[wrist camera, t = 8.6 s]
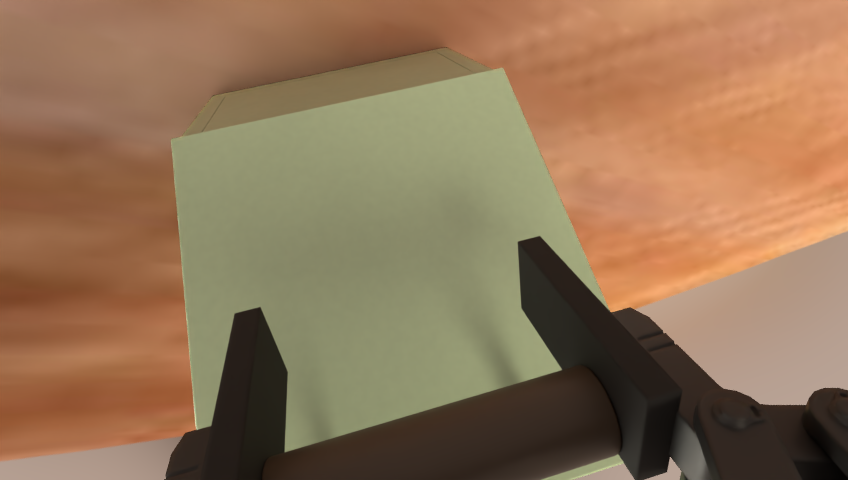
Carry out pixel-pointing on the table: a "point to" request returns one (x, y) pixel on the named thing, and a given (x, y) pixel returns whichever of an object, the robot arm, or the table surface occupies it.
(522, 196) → the lid
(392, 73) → the chest
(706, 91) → the table surface
